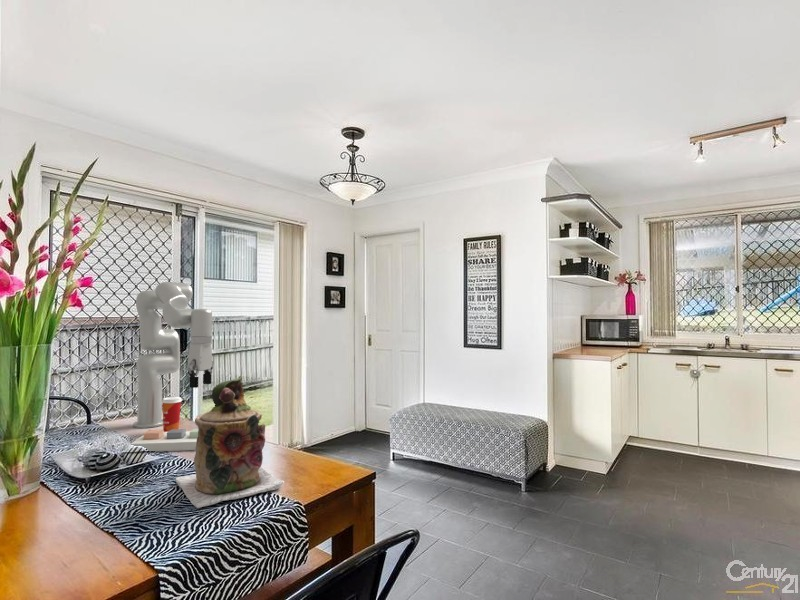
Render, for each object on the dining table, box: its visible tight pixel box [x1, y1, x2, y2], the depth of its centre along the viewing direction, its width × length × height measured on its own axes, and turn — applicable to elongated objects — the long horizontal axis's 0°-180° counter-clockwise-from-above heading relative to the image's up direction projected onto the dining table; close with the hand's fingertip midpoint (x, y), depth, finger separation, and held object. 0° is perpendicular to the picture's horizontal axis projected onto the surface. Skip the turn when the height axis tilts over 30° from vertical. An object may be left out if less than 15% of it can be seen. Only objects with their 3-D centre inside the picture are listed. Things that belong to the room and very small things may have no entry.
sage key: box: [189, 428, 198, 438], centre depth 172 cm, size 5×5×2 cm
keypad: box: [129, 430, 197, 452], centre depth 171 cm, size 16×26×3 cm, turn 100°
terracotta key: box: [143, 429, 164, 440], centre depth 170 cm, size 5×5×2 cm
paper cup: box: [162, 396, 183, 432], centre depth 189 cm, size 8×8×14 cm
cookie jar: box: [175, 374, 285, 509], centre depth 132 cm, size 25×25×32 cm
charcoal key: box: [167, 428, 187, 439], centre depth 171 cm, size 5×5×2 cm
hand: (200, 385), depth 172 cm, fingers open, 9 cm apart
